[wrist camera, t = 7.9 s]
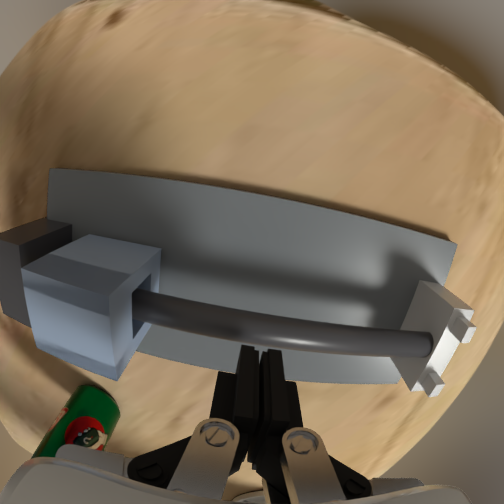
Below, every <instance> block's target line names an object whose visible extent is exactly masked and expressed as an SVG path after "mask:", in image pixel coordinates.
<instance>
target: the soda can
mask: <svg viewBox="0 0 504 504" xmlns="http://www.w3.org/2000/svg"><path fill="white" fill-rule="evenodd" d="M119 418H120V411H119V408H118V405H117V403H116V402H115V401H114V399H113V398H112V397H111V396H110V395H109V394H107V393H106V392H105V391H103V390H102V389H100V388H98V387H95V386H92V385H81V386H78V387H77V388H76V390H75V391H74V393H73V394H72V395H71V397H70V398H69V400H68V401H67V403H66V404H65V406H64V407H63V409H62V410H61V412H60V413H59V415H58V416H57V418H56V419H55V421H54V422H53V424H52V425H51V427H50V428H49V430H48V431H47V433H46V435H45V436H44V438H43V439H42V441H41V443H40V444H39V446H38V447H37V449H36V451H35V452H34V454H33V456H32V458H36V457H53V458H55V456H56V453H57V451H58V449H59V448H60V447H62V446H63V445H67V444H73V445H78V446H82V447H86V448H91V449H95V450H100V451H104V450H105V448H106V446H107V444H108V441H109V439H110V437H111V435H112V433H113V431H114V429H115V427H116V424H117V422H118V420H119ZM32 458H31V459H32Z"/></svg>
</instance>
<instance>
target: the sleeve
mask: <svg viewBox="0 0 504 504" xmlns="http://www.w3.org/2000/svg"><path fill="white" fill-rule="evenodd" d="M161 249H162V248H157V247H152V246H147V245H142V244H136V243H131V242H126V241H121V240H116V239H111V238H106V237H101V236H96V235H91V234H88V235H86V236H84V237H82V238H80V239H78V240H75V241H73V242H71V243H69V244H67V245H65V246H63V247H61V248H59V249H57V250H55V251H53V252H51V253H49V254H47V255H45V256H43V257H41V258H39V259H37V260H35V261H33V262H31V263H29V264H28V265H26V266H24V267H22V268H21V273H22V280H23V287H24V293H25V299H26V304H27V309H28V314H29V319H30V323H31V327H32V331H33V335H34V339H35V343H36V346H37V348H39V349H41V350H43V351H45V352H47V353H49V354H51V355H53V356H55V357H57V358H59V359H62V360H64V361H66V362H68V363H71V364H73V365H76V366H78V367H80V368H83V369H85V370H88V371H90V372H93V373H96V374H98V375H101V376H104V377H107V378H109V379H112V380H115V381H118V379H119V378H120V376H121V374H122V373H123V371H124V369H125V368H126V366H127V364H128V363H129V361H130V359H131V358H132V356H133V354H134V353H135V351H136V349H137V348H138V346H139V344H140V343H141V341H142V340H143V338H144V336H145V335H146V333H147V332H148V330H149V328H150V327H151V325H152V324H150V323H146V322H142V321H138V320H134V319H132V292H133V291H134V290H135V289H136V288H139V289H143V290H147V291H152V292H156V293H159V276H160V261H161Z"/></svg>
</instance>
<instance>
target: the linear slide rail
mask: <svg viewBox="0 0 504 504" xmlns="http://www.w3.org/2000/svg"><path fill="white" fill-rule="evenodd" d="M88 234H91V235H96V236H101V237H106V238H111V239H116V240H121V241H126V242H131V243H136V244H142V245H147V246H152V247H157V248H162V249H161V261H160V276H159V293H156V292H152V291H147V290H143V289H139V288H136V289H135V290H134V291H133V292H132V319H134V320H138V321H142V322H146V323H150V324H152V325H151V327H150V328H149V330H148V332H147V333H146V335H145V336H144V338H143V340H142V341H141V343H140V344H139V346H138V348H137V349H136V351H138V352H141V353H145V354H149V355H152V356H156V357H160V358H164V359H168V360H172V361H176V362H181V363H185V364H190V365H194V366H199V367H204V368H209V369H215V370H220V371H226V372H232V373H236V368H237V363H238V358H239V353H240V349H241V345H249V346H254V347H255V350H259V363H260V359H261V355H262V352H263V351H265V352H267V350H268V349H275V350H281V351H282V358H283V366H284V375H285V380H293V381H305V382H319V383H339V384H397V383H398V381H399V380H400V378H401V376H402V378H403V379H404V381H405V383H406V384H407V386H408V388H409V390H410V391H422V390H424V391H425V392H426V394H427V395H428V397H434V396H438V394H439V393H440V391H441V390H442V388H443V387H444V385H445V383H444V382H443V380H442V379H441V378H440V376H441V374H442V373H443V371H444V369H445V368H446V366H447V364H448V363H449V361H450V359H451V357H452V355H453V354H454V352H455V350H456V348H457V346H458V344H459V342H461V343H469V342H470V340H471V338H472V336H473V334H474V332H475V330H476V328H477V327H476V326H475V325H473V324H472V323H471V322H470V319H471V317H472V315H473V313H474V310H473V309H472V308H471V307H469V306H468V305H467V304H466V303H464V302H463V301H462V300H461V299H459V298H458V297H457V296H455V295H454V294H453V293H451V292H450V291H449V290H447V289H446V288H445V287H444V284H445V281H446V279H447V276H448V273H449V270H450V267H451V264H452V261H453V257H454V254H455V251H456V248H457V244H456V243H454V242H452V241H449V240H446V239H442V238H439V237H436V236H433V235H429V234H426V233H423V232H419V231H416V230H412V229H409V228H405V227H402V226H398V225H395V224H391V223H387V222H384V221H380V220H376V219H372V218H368V217H364V216H360V215H356V214H352V213H348V212H344V211H340V210H336V209H331V208H327V207H323V206H318V205H314V204H309V203H305V202H300V201H295V200H290V199H285V198H281V197H276V196H270V195H265V194H260V193H255V192H249V191H244V190H238V189H232V188H226V187H220V186H214V185H208V184H201V183H195V182H188V181H181V180H174V179H166V178H159V177H151V176H142V175H134V174H124V173H114V172H104V171H92V170H79V169H65V168H50V170H49V182H48V201H47V217H45V218H42V219H39V220H36V221H33V222H30V223H27V224H24V225H21V226H18V227H15V228H13V229H10V230H7V231H4V232H2V233H0V301H1V306H2V310H3V313H4V314H6V315H7V316H9V317H11V318H13V319H15V320H17V321H19V322H21V323H22V324H24V325H26V326H28V327H30V328H32V327H31V323H30V319H29V314H28V309H27V304H26V299H25V293H24V287H23V280H22V273H21V268H22V267H24V266H26V265H28V264H29V263H31V262H33V261H35V260H37V259H39V258H41V257H43V256H45V255H47V254H49V253H51V252H53V251H55V250H57V249H59V248H61V247H63V246H65V245H67V244H69V243H71V242H73V241H75V240H78V239H80V238H82V237H84V236H86V235H88Z"/></svg>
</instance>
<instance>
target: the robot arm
mask: <svg viewBox="0 0 504 504" xmlns="http://www.w3.org/2000/svg"><path fill="white" fill-rule="evenodd" d="M247 451H248V457H247V461H248V462H250V463H252V470H256V472H257V473H258V474H259V475H260V476H261V477H262V485H263V490H264V491H256V492H250V493H246V494H242V495H240V496H237V497H236V498H234V499H233V500H232V501H225V500H221V498H222V495H223V492H224V489H225V485H226V482H227V479H228V476H230V475H232V474H234V473H235V472H237V471H239V469H240V466H241V463H242V462H244V459H245V457H246V454H247ZM0 504H472V503H471V501H470V499H469V498H468V496H467V495H466V494H465V493H464V492H463V491H462V490H461V489H459V488H457V487H453V486H448V485H426V486H424V484H423V483H422V482H421V481H420V480H418V479H416V478H372V479H371V480H368V479H367V478H365V477H364V476H363V475H361V474H359V473H357V472H356V471H354V470H352V469H351V468H349V467H347V466H346V465H344V464H342V463H341V462H339V461H338V460H336V459H334V458H333V457H331V456H330V455H328V453H327V451H326V448H325V446H324V443H323V441H322V439H321V437H320V436H319V435H318V434H317V433H316V432H315V431H313V430H311V429H308V428H304V427H303V422H302V416H301V410H300V403H299V397H298V391H297V385H296V382H293V381H285V375H284V366H283V358H282V351H281V350H275V349H268V350H267V352H265V351H263V352H262V355H261V359H260V363H259V350H255V347H254V346H249V345H241V349H240V353H239V358H238V363H237V368H236V373H235V374H232V373H227V372H221V371H218V376H217V381H216V386H215V391H214V396H213V401H212V407H211V412H210V417H209V419H206V420H203V421H202V422H200V423H199V424H198V425H197V427H196V428H195V430H194V432H193V435H192V436H189V437H187V438H185V439H182V440H180V441H177V442H175V443H172V444H170V445H167V446H165V447H162V448H159V449H157V450H154V451H151V452H148V453H146V454H143V455H140V456H137V457H135V458H127V457H124V455H122V454H116V453H110V452H105V451H100V450H95V449H91V448H86V447H82V446H78V445H73V444H67V445H63V446H62V447H60V448H59V449H58V451H57V453H56V456H55V458H53V457H36V458H32V459H30V460H28V461H26V462H25V463H24V464H22V465H21V466H20V467H19V468H18V469H17V471H16V472H15V473H14V474H13V475H12V477H11V478H10V480H9V481H8V482H7V484H6V486H5V487H4V489H3V490H2V492H1V494H0Z"/></svg>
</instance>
